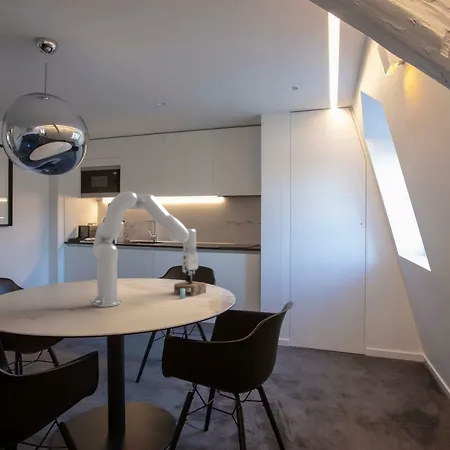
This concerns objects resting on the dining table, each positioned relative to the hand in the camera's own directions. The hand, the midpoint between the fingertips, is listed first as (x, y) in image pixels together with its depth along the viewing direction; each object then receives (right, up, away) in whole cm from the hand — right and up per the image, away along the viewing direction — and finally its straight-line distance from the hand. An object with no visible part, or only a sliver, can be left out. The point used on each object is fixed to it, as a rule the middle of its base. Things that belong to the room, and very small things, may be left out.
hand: (190, 281), depth 211 cm
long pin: (0, -4, 0) cm, 4 cm away
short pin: (-3, -7, -14) cm, 16 cm away
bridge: (0, -7, 0) cm, 7 cm away
